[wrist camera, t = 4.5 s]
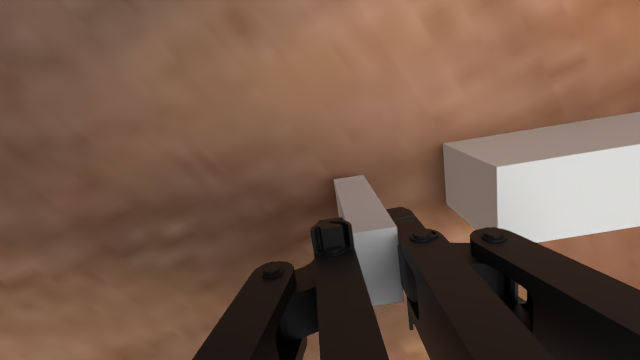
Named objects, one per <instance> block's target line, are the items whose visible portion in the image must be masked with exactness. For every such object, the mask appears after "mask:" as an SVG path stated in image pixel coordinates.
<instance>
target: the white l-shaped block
mask: <svg viewBox="0 0 640 360" xmlns="http://www.w3.org/2000/svg"><path fill="white" fill-rule="evenodd" d="M443 156H444V173H445V190H446V205H448V206H449V207H450V208H451V209H452V210H453V211H455V212H456V213H457V214H458V215H459V216H460V217H462V218H463V219H464V220H465V221H466V222H467V223H469V224H470V225H471V226H472V227H473V228H474V229H476V230H478V229H482V228H485V227H490V228H491V227H496V228H500V229H505V230H508V231H511V232H513V233H516V234H518V235H520V236H522V237H524V238H527V239H529V240H531V241H533V242H535V243H538V242H544V241H550V240H556V239H562V238H569V237H575V236H581V235H587V234H594V233H600V232H606V231H612V230H618V229H625V228H631V227H637V226H640V112H635V113H629V114H622V115H616V116H610V117H604V118H598V119H591V120H585V121H579V122H573V123H567V124H560V125H554V126H548V127H542V128H536V129H529V130H523V131H517V132H511V133H505V134H498V135H492V136H486V137H480V138H474V139H467V140H461V141H455V142H449V143H443Z"/></svg>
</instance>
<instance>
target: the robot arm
mask: <svg viewBox="0 0 640 360" xmlns="http://www.w3.org/2000/svg"><path fill="white" fill-rule="evenodd" d="M334 186H335V193H336V200H337V207H338V214H339V218H333V219H327V220H320V221H318V222H317V224H316V225H314V226H313V227H312V228H311V231H310V232H311V238H312V244H313V249H314V257H315V259H314V260H313V261H312V262H311V263H310V264H308V265H306V266H305V267H302V268H300V269H297V270H294V267H293V266H292V264H290V263H288V262H282V261H277V262H269V263H266V264H264V265H262V266H260V267H259V268H257V269H256V270H255V271H254V272H253V273H252V274H251V275H250V277H249V278H248V280H247V281H246V283H245V284H244V286H243V287H242V288H241V290H240V291H239V293H238V294H237V296H236V297H235V299H234V300H233V301H232V303H231V304H230V306H229V307H228V309H227V310H226V312H225V313H224V314H223V316H222V317H221V319H220V320H219V322H218V323H217V325H216V326H215V327H214V329H213V330H212V332H211V333H210V335H209V336H208V338H207V339H206V340H205V342H204V343H203V345H202V346H201V348H200V349H199V351H198V352H197V353H196V355H195V356H194V358H193V359H192V360H302V359H303V356H304V353H305V349H306V346H307V336H308V335H311V334H313V333H316V332H318V331H319V344H320V360H389V358H388V355H387V352H386V348H385V345H384V342H383V339H382V335H381V332H380V329H379V326H378V322H377V319H376V316H375V313H374V309H373V306H376V305H383V304H389V303H396V302H402V301H404V296H403V289H404V291H405V293H406V295H407V305H408V316H409V326H410V330H413V324H415V327H416V329H417V331H418V333H419V335H420V338H421V340H422V342H423V344H424V346H425V349H426V351H427V353H428V355H429V358H430V360H640V290H638V289H636V288H634V287H632V286H630V285H627V284H625V283H623V282H621V281H619V280H616V279H614V278H612V277H610V276H608V275H605V274H603V273H601V272H599V271H597V270H595V269H592V268H590V267H588V266H586V265H584V264H581V263H579V262H577V261H575V260H573V259H570V258H568V257H566V256H564V255H562V254H559V253H557V252H555V251H553V250H551V249H549V248H546V247H544V246H542V245H540V244H538V243H535V242H533V241H531V240H529V239H527V238H524V237H522V236H520V235H518V234H516V233H513V232H511V231H508V230H505V229H500V228H496V227H491V228H490V227H485V228H482V229H478V230H475V231H473V232H472V233H471V234H470V243H450V242H449V241H448V240H447V239H446V238H445V237H444V236H443V235H442V234H441V233H439V232H438V231H435V230H432V229H426V228H425V227H424V226H423V225H422V224H421V222H420V221H418V219H417V218H416V216H415V215H414V214H413V213H412V212H411V210H408V209H406V208H403V207H398V208H392V209H385V208H384V206H383V204H382V203H381V201H380V200H379V198H378V197H377V195H376V194H375V192H374V190H373V189H372V187H371V186H370V184H369V183H368V181H367V180H366V178H365V176H364V175H359V176H352V177H346V178H339V179H334ZM518 284H520V285H521V286H523V287H524V288H525V289H526V290H527V301H525V300H523V299H521V298H520V297H518Z"/></svg>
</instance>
